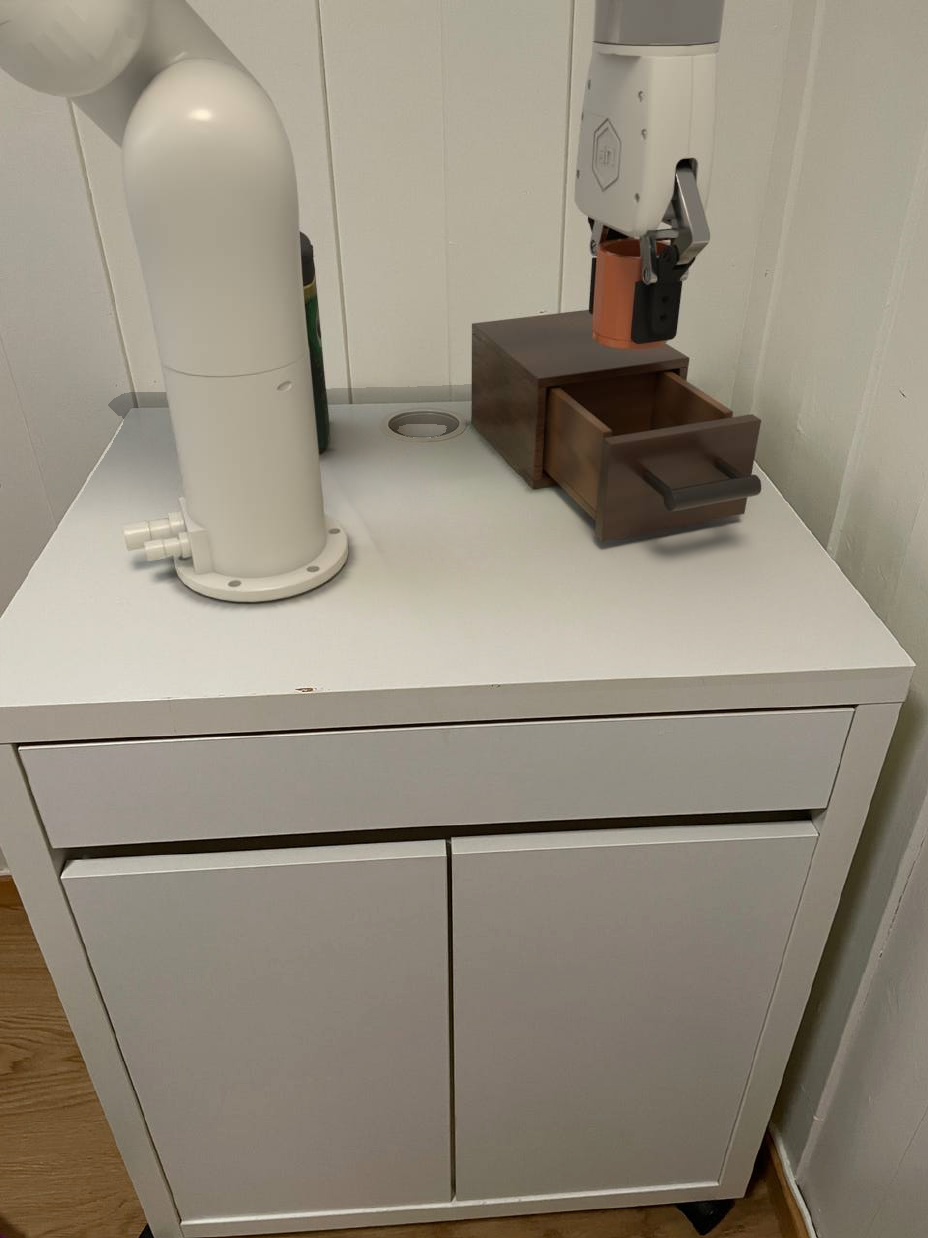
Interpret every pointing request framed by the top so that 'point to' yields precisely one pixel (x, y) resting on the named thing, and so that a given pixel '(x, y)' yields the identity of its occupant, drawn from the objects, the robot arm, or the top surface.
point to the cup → (618, 292)
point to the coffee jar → (314, 341)
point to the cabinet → (543, 378)
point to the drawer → (648, 452)
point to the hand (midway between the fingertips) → (631, 323)
